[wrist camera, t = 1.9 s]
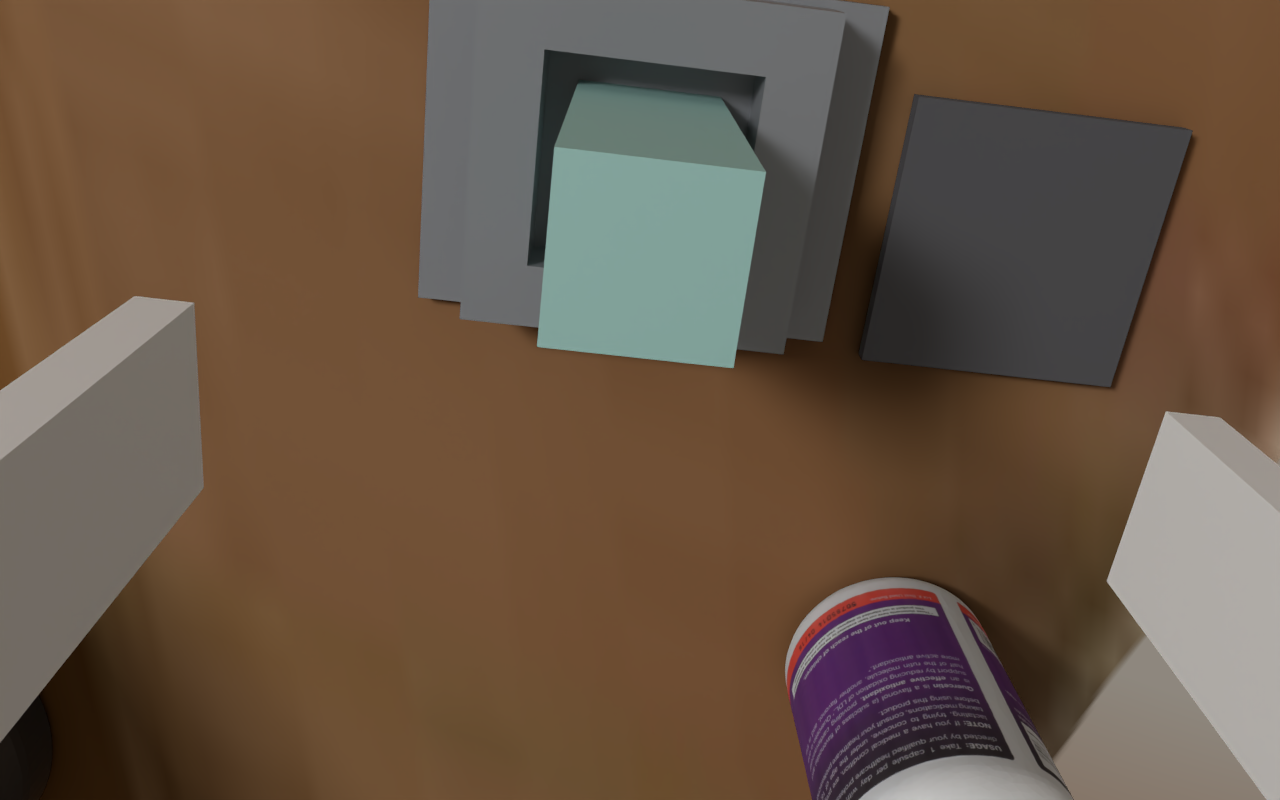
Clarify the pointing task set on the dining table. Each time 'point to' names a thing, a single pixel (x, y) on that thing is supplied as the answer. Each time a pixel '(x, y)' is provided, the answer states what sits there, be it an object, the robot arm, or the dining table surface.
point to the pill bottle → (910, 702)
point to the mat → (1019, 240)
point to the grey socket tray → (651, 58)
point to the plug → (649, 226)
